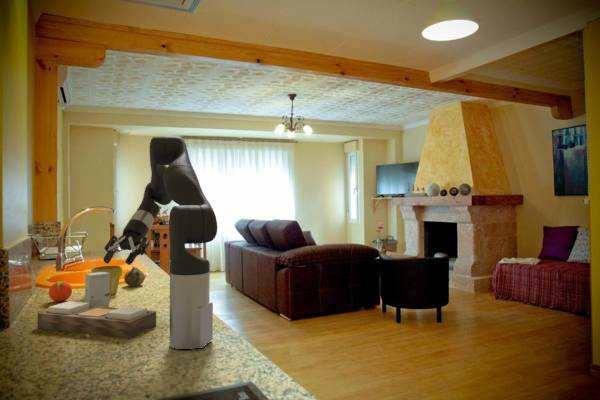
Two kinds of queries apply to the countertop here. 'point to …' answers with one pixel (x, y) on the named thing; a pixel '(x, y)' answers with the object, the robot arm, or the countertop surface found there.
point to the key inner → (127, 313)
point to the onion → (134, 277)
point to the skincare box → (97, 289)
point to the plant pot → (114, 275)
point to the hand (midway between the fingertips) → (116, 262)
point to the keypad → (96, 323)
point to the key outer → (68, 307)
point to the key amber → (96, 312)
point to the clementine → (60, 291)
